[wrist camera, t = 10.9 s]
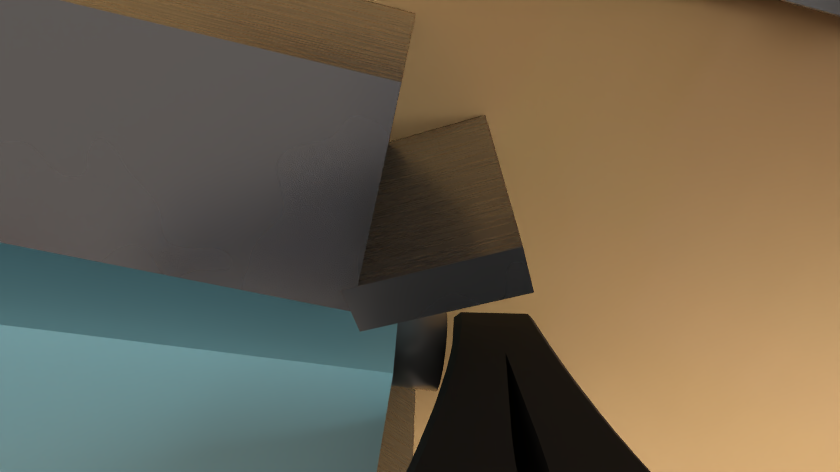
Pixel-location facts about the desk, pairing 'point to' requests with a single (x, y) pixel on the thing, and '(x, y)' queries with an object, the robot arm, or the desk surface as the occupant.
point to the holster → (819, 5)
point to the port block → (250, 159)
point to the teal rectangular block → (191, 373)
